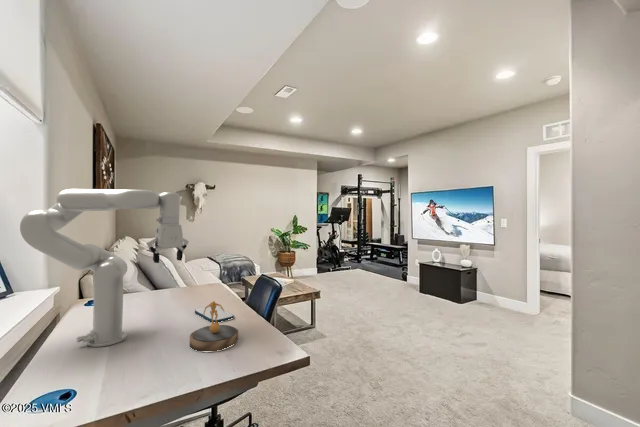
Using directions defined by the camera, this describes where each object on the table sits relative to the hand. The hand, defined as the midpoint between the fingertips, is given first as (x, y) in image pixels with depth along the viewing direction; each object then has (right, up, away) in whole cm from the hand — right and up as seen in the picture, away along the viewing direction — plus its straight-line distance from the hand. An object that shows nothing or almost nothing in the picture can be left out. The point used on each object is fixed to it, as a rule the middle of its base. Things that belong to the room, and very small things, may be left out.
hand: (168, 261), depth 126 cm
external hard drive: (+11, -32, +23) cm, 41 cm away
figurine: (+23, -27, -9) cm, 36 cm away
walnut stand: (+23, -31, -9) cm, 39 cm away
